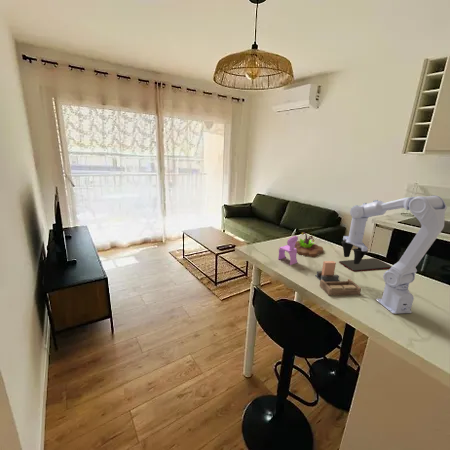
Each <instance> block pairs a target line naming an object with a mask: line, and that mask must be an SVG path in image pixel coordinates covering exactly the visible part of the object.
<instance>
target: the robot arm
mask: <svg viewBox="0 0 450 450" xmlns="http://www.w3.org/2000/svg"><path fill="white" fill-rule="evenodd" d="M447 208H448V205H447V204H446V202H445V200H444V198H443V197H441V196H440V195H426V196H424V195H418V196H409V197H402V198H399V199H395V200H390V201H387V202H384V201H382V200H378V199H375V200H374V199H373V200H372V201H371V202H368V203H367V202H364V203H363V202H362V204H361V205H358V204H355V205H353V206H352V207H350V210H349V213H350V216H351V221H350V226H349V233H348V235H343V238H342V240H343V241H341V242H340V243H341V245H342V249H343V251H342V252H343V257H344V258H349V257H350V255H351V252H352V249H353V254H354V257H353V260H354V264H359V263H360V261H361V259H364V257H365V255H366V254H367V253H369V251H368V249H369V248H368V246H367V245H366V244H364V242H363V239H364V236H365V229H366V225H367V222H368V219H370V218H371V217H376V216H377V217H378V216H384V215H385V214H386V213H387V211H392V210H399V209H405V210H406V211H410V213H411V214H412V215H413V217H415V218H416V219H417V221H419V223H420V228H419V229H418V231H417V233H416V234H415V236H414V237H413V239H412V240H411V242H410V243H409V244H408V246H407V248H406V250H405V251H404V252H403V254H402V255H401V257H400V259H399V260H398V261H397V262H396V263H394V264H393V265H391V266H392V267H391V268H390V269H386V271H385V272H383V275H382V277H383V281H384V284H385V285H384V287H383V292H382V296H381V298H376V299H375V300H376V301H377V302H378V303H379V304H380V305H382V306H383V307H384V308H385V309H387V311H389V312H390V313H391V314H392V315H394V314H397V315H398V314H412V313H413V312H412V310H411V309H412V306H413V304H414V303H413V302H414V299H415V298H414V295H413V294H412V292H410V290H409V287H410V284H411V283H413V282H414V281H415V279H416V273H417V272H418V270H417V268H416V267H417V266H418V265H419V263H420V262H421V260H422V259H423V258H424V256H425V255H426V253H427V252H428V251H429V249H430V248H431V246H433V244H434V242H435V241H436V240H437V238H438V237H439V235H440V234H441V232H442V231H443V230H444V228H445V218H446V217H445V215H446V210H447ZM354 246H355V248H353V247H354Z"/></svg>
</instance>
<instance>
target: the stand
mask: <svg viewBox="0 0 450 450" xmlns="http://www.w3.org/2000/svg"><path fill="white" fill-rule="evenodd" d="M321 274H322V270H318V271H316V274H314V276H315V278H317V280H318V281H320V280H323V281H324V282H336V281H340V279H339V278H340V275H338V274H334V275H321Z"/></svg>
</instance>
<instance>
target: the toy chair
mask: <svg viewBox="0 0 450 450" xmlns="http://www.w3.org/2000/svg"><path fill="white" fill-rule="evenodd" d="M297 241H299V237H298V236H297V235H293V236H292V237H289V238H288V239H287V242H286V243H287V244H286V245H283V246H280V247H279V248H278V257H277V259H278V261H279V259H280V260H282V259H285V258H287V257H286V253H287V254H289V258H290V259H289V260H290V261H289V265H290V266H292V265H295V264H297V263H298V260H297V255H298V254H297V249H296V248H295V244H296V242H297ZM288 245H289V246H288Z"/></svg>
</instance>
